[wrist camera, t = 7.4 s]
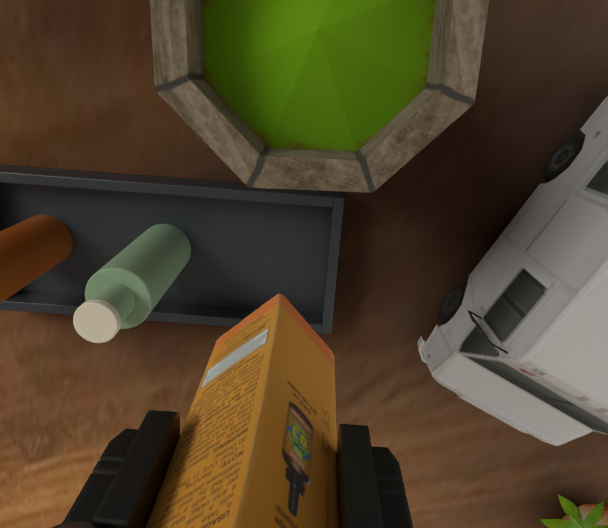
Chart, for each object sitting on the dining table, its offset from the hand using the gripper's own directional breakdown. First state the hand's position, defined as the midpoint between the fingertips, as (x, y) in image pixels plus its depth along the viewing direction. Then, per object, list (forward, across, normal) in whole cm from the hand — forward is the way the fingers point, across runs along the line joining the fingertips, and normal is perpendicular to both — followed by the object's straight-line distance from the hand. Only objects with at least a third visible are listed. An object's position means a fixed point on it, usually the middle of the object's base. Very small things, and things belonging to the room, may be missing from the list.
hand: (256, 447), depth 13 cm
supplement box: (+5, 0, 0) cm, 5 cm away
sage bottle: (+17, +7, 0) cm, 19 cm away
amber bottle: (+17, +14, 0) cm, 22 cm away
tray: (+18, +7, 0) cm, 19 cm away
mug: (+18, 0, -13) cm, 22 cm away
